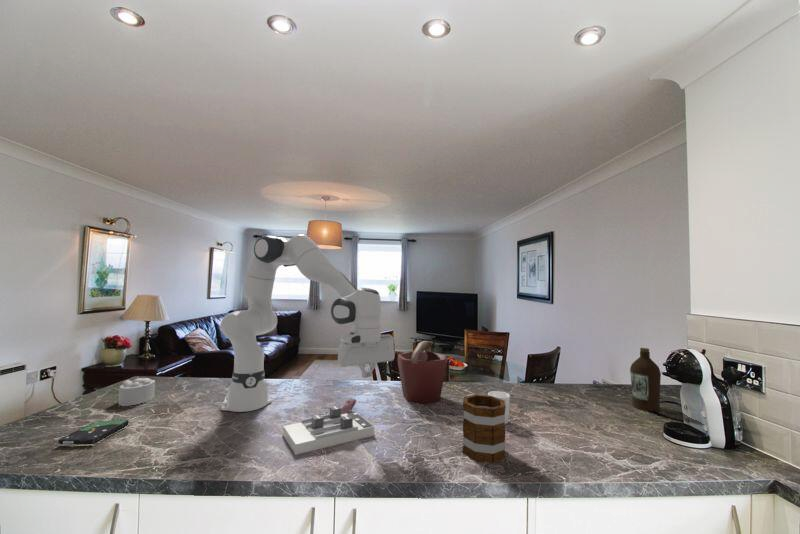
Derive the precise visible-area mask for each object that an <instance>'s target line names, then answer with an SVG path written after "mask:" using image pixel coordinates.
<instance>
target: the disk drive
mask: <svg viewBox="0 0 800 534" xmlns="http://www.w3.org/2000/svg"><path fill="white" fill-rule="evenodd" d="M129 421H130V420H129V419H120V420H119V419H118V420H117V419H113V420H101V419H100V420H98V421H94V422H92V423H90V424H87V425H86V426H83V427H82V428H79V429H78V430H75V431H73V432H72V433H69V434H67V435H64V436H62V437H61V438H59V439H58V443H60V444H95V443H97V442H98V441H100V440H102V439H103V438H106V437H107V436H109V435H111V434H113V433H115V432H117V431H118V430H120V429H122V428H124V427H125V426H127V425H128V426H129ZM58 443H57V444H58Z"/></svg>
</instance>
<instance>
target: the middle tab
mask: <svg viewBox="0 0 800 534" xmlns="http://www.w3.org/2000/svg"><path fill="white" fill-rule="evenodd" d="M322 415H323V414H322ZM322 415H321V414H316V415H312V416H311V417H312V425H311V427H312V428H313V429H317V428H322V427H323V425H324V417H323V416H322Z"/></svg>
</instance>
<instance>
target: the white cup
mask: <svg viewBox="0 0 800 534" xmlns="http://www.w3.org/2000/svg"><path fill="white" fill-rule="evenodd" d="M487 396H493V397H496V398H499V399H501V400H504V401H505V406H506V408H505V425H508V424H509V415H510V401H511V400H510V399H511V396H510V393H507V392H504V391H500V390H499V391H498V390H492V391H491V390H490V391H489V392H487Z"/></svg>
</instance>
